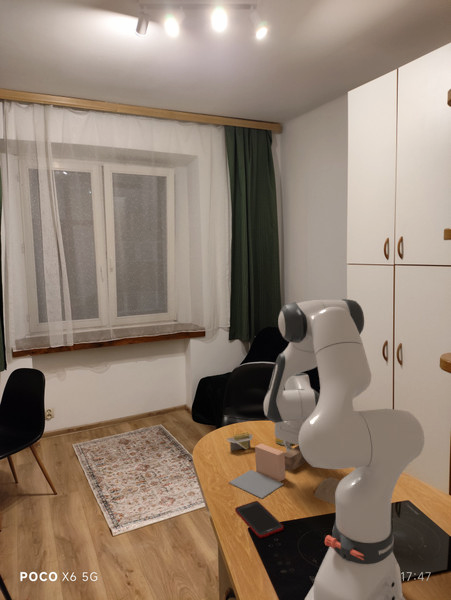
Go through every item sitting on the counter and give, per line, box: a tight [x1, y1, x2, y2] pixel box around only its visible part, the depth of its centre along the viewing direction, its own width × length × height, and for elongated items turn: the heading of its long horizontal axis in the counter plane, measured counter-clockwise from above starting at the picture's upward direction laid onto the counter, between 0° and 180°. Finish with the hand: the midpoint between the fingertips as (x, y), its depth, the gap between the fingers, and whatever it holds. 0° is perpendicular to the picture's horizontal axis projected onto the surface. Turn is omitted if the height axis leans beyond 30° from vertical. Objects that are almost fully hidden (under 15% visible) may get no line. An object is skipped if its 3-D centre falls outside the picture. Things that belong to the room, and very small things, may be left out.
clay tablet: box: [313, 477, 341, 506], centre depth 129 cm, size 14×10×3 cm
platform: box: [226, 431, 253, 452], centre depth 161 cm, size 12×18×7 cm, turn 108°
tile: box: [254, 443, 286, 482], centre depth 141 cm, size 3×10×9 cm, turn 44°
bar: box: [284, 445, 308, 472], centre depth 149 cm, size 16×4×5 cm, turn 134°
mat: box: [228, 469, 284, 500], centre depth 136 cm, size 10×14×1 cm
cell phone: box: [234, 500, 284, 539], centre depth 118 cm, size 8×15×1 cm, turn 26°
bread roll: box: [274, 437, 294, 446], centre depth 166 cm, size 8×9×4 cm
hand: (300, 456), depth 149 cm, fingers open, 8 cm apart
